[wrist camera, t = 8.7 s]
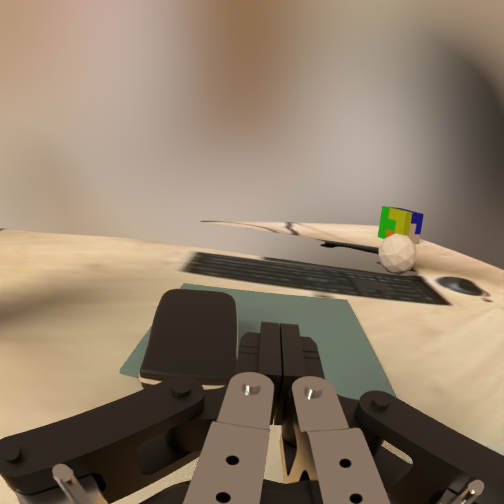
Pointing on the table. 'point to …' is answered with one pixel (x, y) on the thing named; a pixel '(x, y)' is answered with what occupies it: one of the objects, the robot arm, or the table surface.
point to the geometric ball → (397, 253)
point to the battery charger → (192, 339)
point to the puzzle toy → (400, 223)
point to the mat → (310, 325)
